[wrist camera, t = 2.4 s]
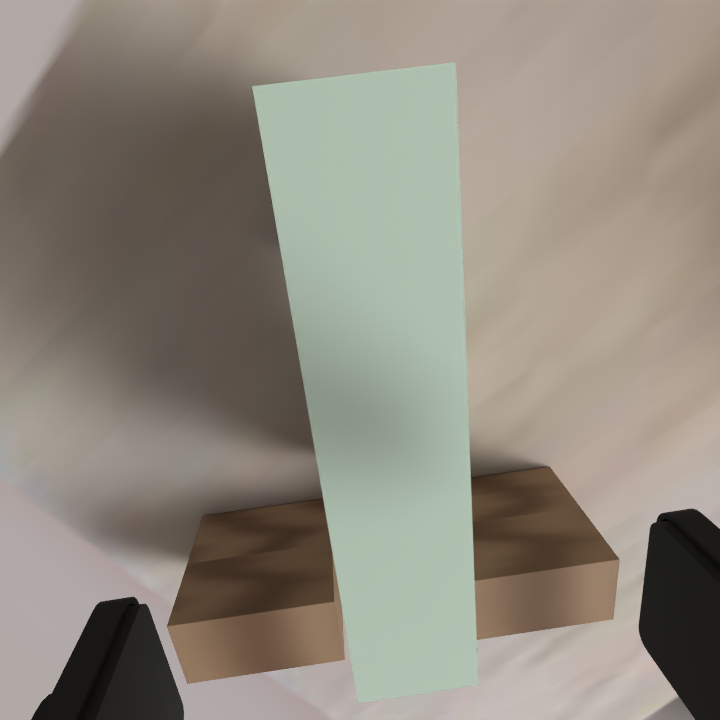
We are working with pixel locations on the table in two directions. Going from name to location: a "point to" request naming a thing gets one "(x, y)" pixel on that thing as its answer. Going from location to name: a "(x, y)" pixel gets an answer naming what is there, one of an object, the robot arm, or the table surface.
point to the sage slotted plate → (383, 357)
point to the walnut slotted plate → (320, 587)
